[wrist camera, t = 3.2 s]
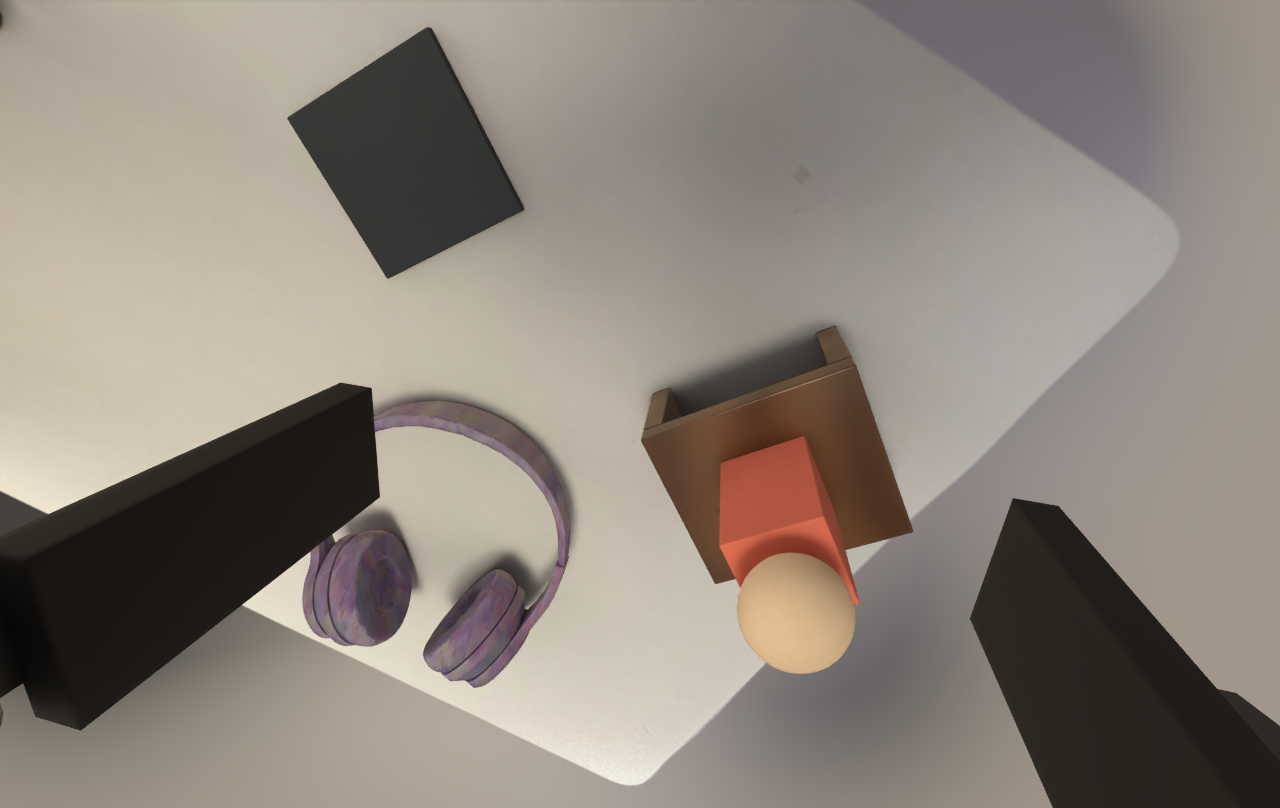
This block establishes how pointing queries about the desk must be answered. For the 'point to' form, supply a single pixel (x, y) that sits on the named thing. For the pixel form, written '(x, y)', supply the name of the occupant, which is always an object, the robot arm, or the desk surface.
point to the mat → (407, 155)
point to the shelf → (769, 416)
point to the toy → (786, 558)
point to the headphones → (381, 575)
